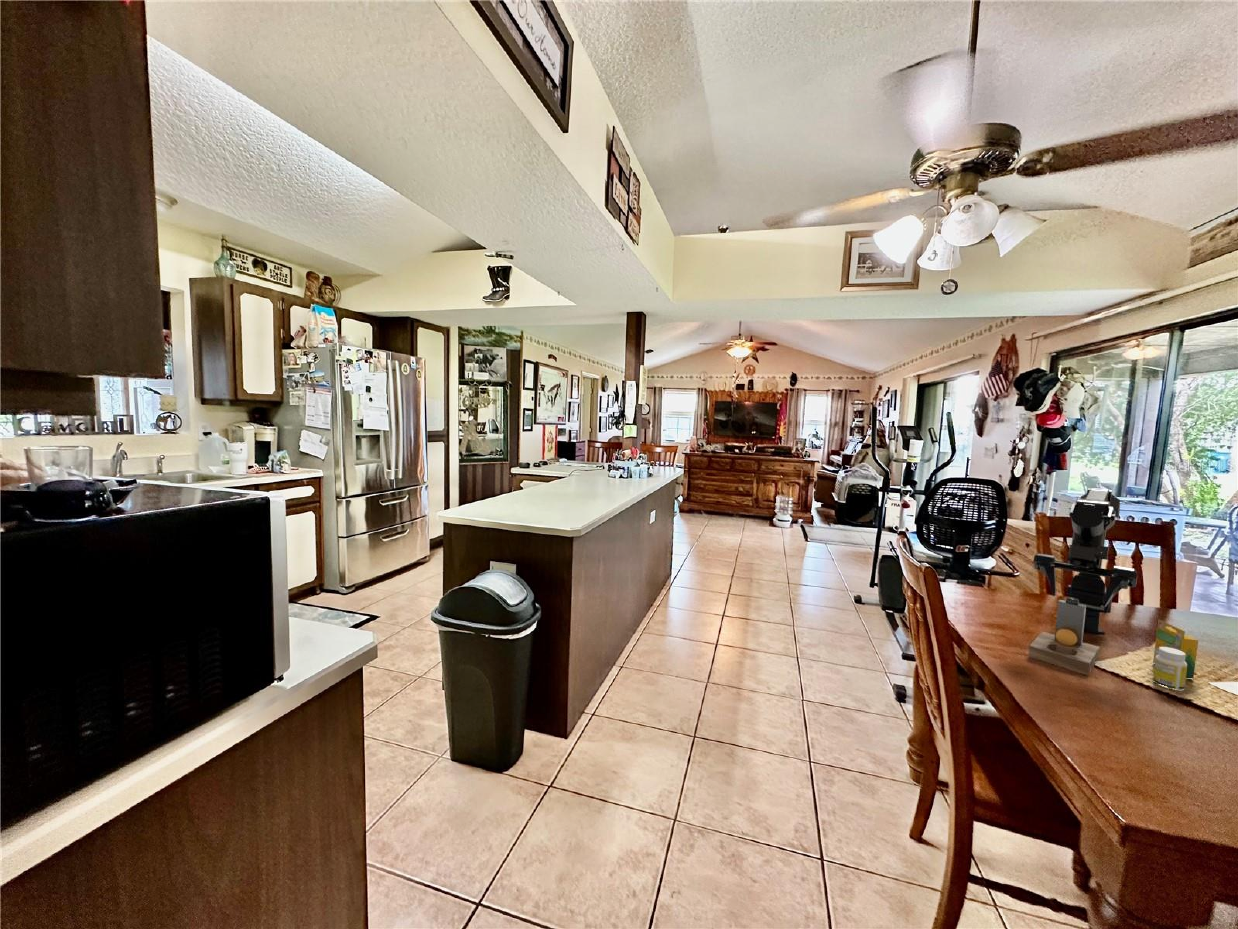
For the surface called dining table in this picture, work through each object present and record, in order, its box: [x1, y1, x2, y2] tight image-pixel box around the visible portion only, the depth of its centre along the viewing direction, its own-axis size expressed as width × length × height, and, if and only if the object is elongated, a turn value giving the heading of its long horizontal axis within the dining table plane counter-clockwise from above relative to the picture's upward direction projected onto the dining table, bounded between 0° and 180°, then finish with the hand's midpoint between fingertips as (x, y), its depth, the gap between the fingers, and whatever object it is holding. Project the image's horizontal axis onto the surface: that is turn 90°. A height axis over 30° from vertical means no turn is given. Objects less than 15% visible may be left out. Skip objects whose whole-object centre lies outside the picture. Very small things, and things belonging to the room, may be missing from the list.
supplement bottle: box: [1152, 647, 1187, 690], centre depth 108 cm, size 5×5×8 cm
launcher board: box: [1027, 631, 1100, 676], centre depth 121 cm, size 14×11×3 cm
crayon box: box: [1152, 619, 1199, 679], centre depth 114 cm, size 7×3×12 cm, turn 166°
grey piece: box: [1054, 596, 1086, 645], centre depth 123 cm, size 2×5×11 cm, turn 38°
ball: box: [1056, 629, 1077, 646], centre depth 121 cm, size 4×4×4 cm
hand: (1077, 600), depth 119 cm, fingers open, 9 cm apart
